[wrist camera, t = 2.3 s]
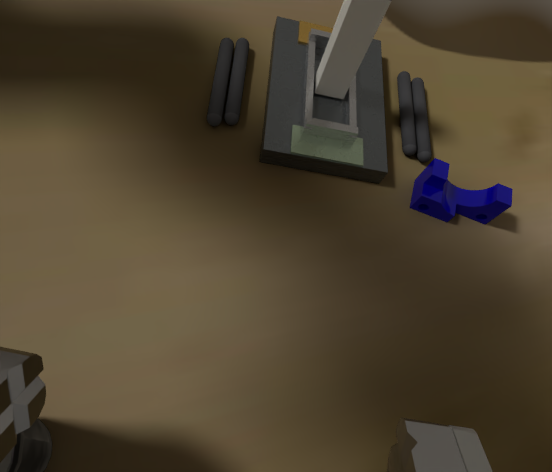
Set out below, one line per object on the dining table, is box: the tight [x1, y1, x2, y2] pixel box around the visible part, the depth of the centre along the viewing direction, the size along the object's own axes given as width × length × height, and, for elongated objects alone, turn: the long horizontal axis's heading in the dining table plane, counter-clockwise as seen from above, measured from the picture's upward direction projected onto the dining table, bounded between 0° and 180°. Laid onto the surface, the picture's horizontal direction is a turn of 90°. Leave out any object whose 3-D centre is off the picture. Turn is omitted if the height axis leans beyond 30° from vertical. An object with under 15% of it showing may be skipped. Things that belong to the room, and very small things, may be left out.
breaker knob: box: [315, 0, 391, 99], centre depth 39 cm, size 2×3×12 cm
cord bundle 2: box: [397, 71, 432, 162], centre depth 47 cm, size 12×3×1 cm, turn 176°
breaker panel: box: [260, 16, 388, 184], centre depth 44 cm, size 18×12×4 cm, turn 176°
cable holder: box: [410, 158, 512, 224], centre depth 42 cm, size 8×4×4 cm, turn 72°
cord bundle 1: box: [207, 38, 249, 126], centre depth 44 cm, size 12×3×1 cm, turn 176°
